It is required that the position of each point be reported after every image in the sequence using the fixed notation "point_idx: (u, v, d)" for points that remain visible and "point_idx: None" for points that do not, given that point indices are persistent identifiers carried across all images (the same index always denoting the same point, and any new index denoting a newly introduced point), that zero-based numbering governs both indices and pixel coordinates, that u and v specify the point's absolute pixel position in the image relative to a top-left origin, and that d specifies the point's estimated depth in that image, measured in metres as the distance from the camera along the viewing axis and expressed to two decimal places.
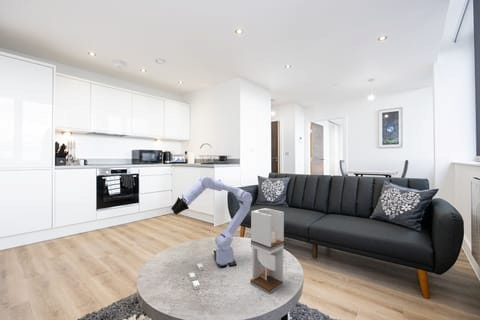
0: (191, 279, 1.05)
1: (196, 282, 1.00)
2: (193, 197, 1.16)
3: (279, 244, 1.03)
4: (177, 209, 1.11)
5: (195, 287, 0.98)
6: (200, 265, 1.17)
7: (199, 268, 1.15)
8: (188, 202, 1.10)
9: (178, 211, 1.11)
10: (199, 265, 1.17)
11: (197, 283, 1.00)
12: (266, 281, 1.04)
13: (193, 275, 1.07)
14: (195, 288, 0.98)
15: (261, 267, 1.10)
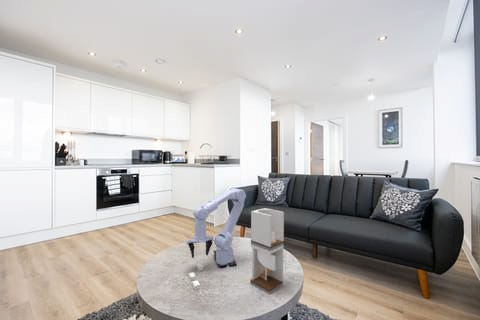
0: (191, 279, 1.05)
1: (196, 282, 1.00)
2: None
3: (279, 244, 1.03)
4: None
5: (195, 287, 0.98)
6: (200, 265, 1.17)
7: (199, 268, 1.15)
8: None
9: None
10: (199, 265, 1.17)
11: (197, 283, 1.00)
12: (266, 281, 1.04)
13: (193, 275, 1.07)
14: (195, 288, 0.98)
15: (261, 267, 1.10)
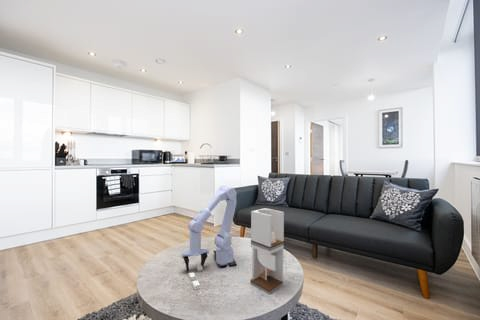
0: (191, 279, 1.05)
1: (196, 282, 1.00)
2: None
3: (279, 244, 1.03)
4: None
5: (195, 287, 0.98)
6: (199, 265, 1.17)
7: (198, 268, 1.15)
8: None
9: None
10: (198, 265, 1.17)
11: (197, 283, 1.00)
12: (266, 281, 1.04)
13: (193, 275, 1.07)
14: (195, 288, 0.98)
15: (261, 267, 1.10)
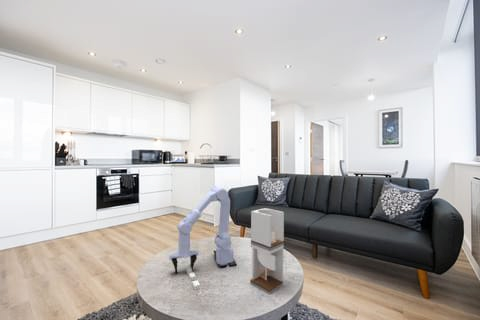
0: (191, 279, 1.05)
1: (196, 282, 1.00)
2: None
3: (279, 244, 1.03)
4: None
5: (195, 287, 0.98)
6: (189, 267, 1.14)
7: (187, 270, 1.12)
8: None
9: None
10: (188, 267, 1.14)
11: (197, 283, 1.00)
12: (266, 281, 1.04)
13: (193, 275, 1.07)
14: (195, 288, 0.98)
15: (261, 267, 1.10)
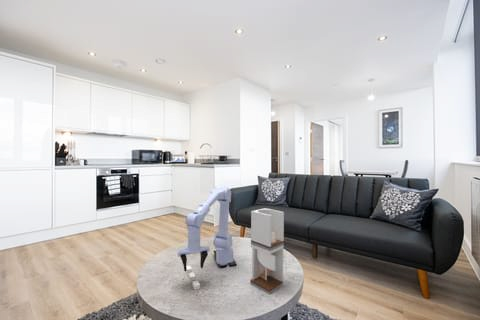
0: (191, 279, 1.05)
1: (196, 282, 1.00)
2: None
3: (279, 244, 1.03)
4: None
5: (195, 287, 0.98)
6: (189, 267, 1.14)
7: (187, 270, 1.12)
8: None
9: None
10: (188, 267, 1.14)
11: (197, 283, 1.00)
12: (266, 281, 1.04)
13: (193, 275, 1.07)
14: (195, 288, 0.98)
15: (261, 267, 1.10)
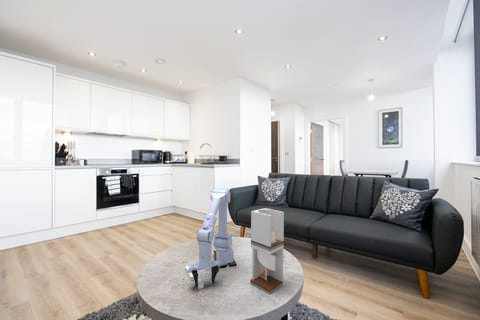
0: (191, 279, 1.05)
1: (200, 281, 1.01)
2: None
3: (279, 244, 1.03)
4: None
5: (199, 286, 0.99)
6: None
7: (187, 270, 1.12)
8: None
9: None
10: (188, 267, 1.14)
11: (201, 282, 1.00)
12: (266, 281, 1.04)
13: None
14: (199, 287, 0.99)
15: (261, 267, 1.10)
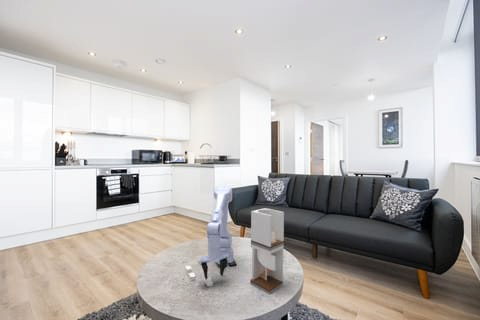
0: (191, 279, 1.05)
1: (209, 279, 1.03)
2: None
3: (279, 244, 1.03)
4: None
5: (208, 284, 1.00)
6: (189, 267, 1.14)
7: (187, 270, 1.12)
8: None
9: None
10: (188, 267, 1.14)
11: (210, 280, 1.02)
12: (266, 281, 1.04)
13: (193, 275, 1.07)
14: (208, 285, 1.00)
15: (261, 267, 1.10)
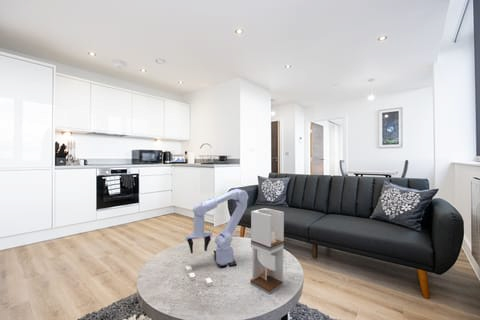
0: (191, 279, 1.05)
1: (209, 279, 1.03)
2: None
3: (279, 244, 1.03)
4: None
5: (208, 284, 1.00)
6: (189, 267, 1.14)
7: (187, 270, 1.12)
8: None
9: None
10: (188, 267, 1.14)
11: (210, 280, 1.02)
12: (266, 281, 1.04)
13: (193, 275, 1.07)
14: (208, 285, 1.00)
15: (261, 267, 1.10)
